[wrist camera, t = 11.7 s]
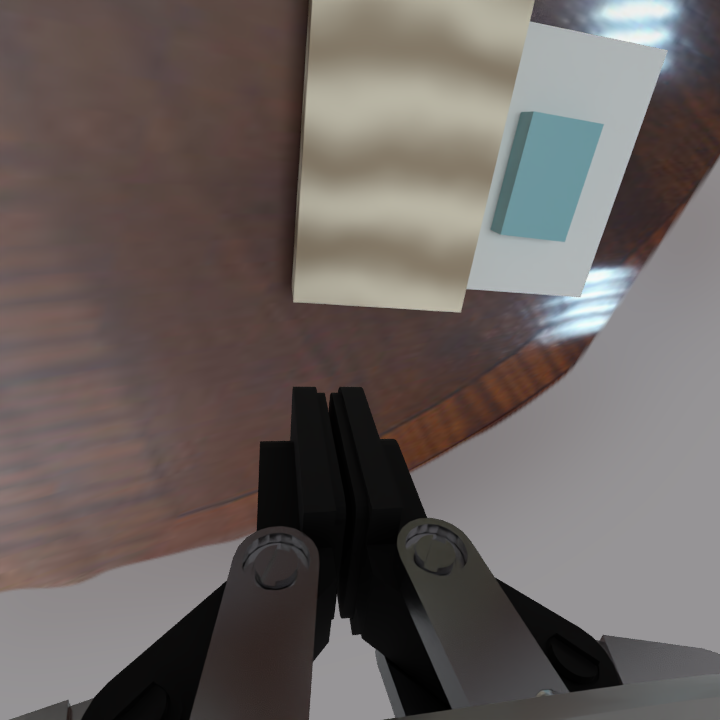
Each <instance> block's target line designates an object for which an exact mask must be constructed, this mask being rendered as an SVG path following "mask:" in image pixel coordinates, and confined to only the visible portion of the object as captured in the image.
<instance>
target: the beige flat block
mask: <svg viewBox="0 0 720 720" xmlns="http://www.w3.org/2000/svg"><path fill="white" fill-rule="evenodd" d="M534 1H535V0H309V8H308V24H307V41H306V57H305V74H304V91H303V107H302V124H301V140H300V157H299V173H298V190H297V206H296V223H295V240H294V256H293V273H292V294H293V302H302V303H318V304H334V305H350V306H366V307H383V308H399V309H415V310H431V311H447V312H461V309H462V305H463V301H464V296H465V292H466V288H467V284H468V279H469V275H470V271H471V267H472V263H473V258H474V254H475V250H476V246H477V242H478V237H479V233H480V229H481V225H482V220H483V216H484V212H485V208H486V204H487V199H488V195H489V191H490V187H491V183H492V178H493V174H494V170H495V166H496V161H497V157H498V153H499V149H500V145H501V140H502V136H503V132H504V128H505V123H506V119H507V115H508V111H509V107H510V102H511V98H512V94H513V90H514V86H515V81H516V77H517V73H518V69H519V64H520V60H521V56H522V52H523V48H524V43H525V39H526V35H527V31H528V27H529V22H530V18H531V14H532V10H533V5H534Z"/></svg>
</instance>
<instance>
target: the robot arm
mask: <svg viewBox="0 0 720 720" xmlns="http://www.w3.org/2000/svg"><path fill="white" fill-rule="evenodd" d="M336 597H338V604H339V611H340V616H341V618H350V624H351V630H352V635H358V634H361V636H362V639H363V640H365V641H366V642H367V643H369V644H370V645H371V646H372V647H374V648H375V649H376V651H375V654H376V659H377V665H378V668H379V671H380V673H381V676H382V679H383V682H384V685H385V688H386V691H387V694H388V697H389V700H390V703H391V706H392V709H393V712H394V715H395V718H392V719H385V720H720V654H718V653H715V652H712V651H709V650H705V649H702V648H695V647H688V646H680V645H673V644H666V643H658V642H651V641H644V640H635V639H629V638H622V637H614V636H607V635H603V636H602V638H601V639H600V641H597V640H595V639H594V638H593V637H592V636H590V635H589V634H587V633H586V632H585V631H584V630H582V629H581V628H579V627H578V626H576V625H574V624H573V623H571V622H569V621H567V620H566V619H564V618H562V617H561V616H559V615H557V614H556V613H554V612H552V611H551V610H549V609H547V608H546V607H544V606H542V605H541V604H539V603H537V602H536V601H534V600H532V599H530V598H529V597H527V596H525V595H524V594H522V593H520V592H519V591H517V590H515V589H514V588H512V587H510V586H509V585H507V584H505V583H503V582H502V581H500V580H498V579H497V578H495V577H494V576H493V574H492V573H491V571H490V570H489V568H488V567H487V565H486V564H485V562H484V561H483V559H482V558H481V556H480V554H479V553H478V551H477V550H476V548H475V547H474V545H473V544H472V542H471V541H470V540H469V538H468V537H467V536H466V535H465V534H464V533H463V532H462V531H461V530H460V529H458V528H457V527H455V526H454V525H452V524H450V523H448V522H445V521H443V520H439V519H433V518H427V516H426V514H425V512H424V509H423V506H422V504H421V501H420V499H419V496H418V493H417V491H416V488H415V486H414V483H413V481H412V478H411V475H410V473H409V470H408V468H407V465H406V463H405V460H404V457H403V455H402V452H401V450H400V447H399V445H398V443H397V441H396V440H395V439H380V438H379V435H378V432H377V429H376V426H375V423H374V420H373V417H372V414H371V411H370V408H369V405H368V402H367V399H366V396H365V394H364V391H363V388H362V387H339V390H338V393H331V394H330V402H329V413H328V407H327V402H326V397H325V393H317V390H316V387H293V392H292V414H291V437H290V441H263V442H260V460H259V487H258V514H257V531H256V532H255V533H253V534H252V535H250V536H248V537H247V538H246V539H245V540H244V541H243V542H242V543H241V545H239V547H238V549H237V551H236V553H235V555H234V557H233V560H232V564H231V568H230V572H229V575H228V579H227V581H226V582H225V583H223V584H222V585H221V586H220V587H219V588H218V589H217V590H215V591H214V592H213V593H212V594H211V595H210V596H208V597H207V598H206V599H205V600H204V601H203V602H201V603H200V604H199V605H198V606H197V607H196V608H194V609H193V610H192V611H191V612H190V613H189V614H187V615H186V616H185V617H184V618H183V619H182V620H180V621H179V622H178V623H177V624H176V625H175V626H174V627H172V628H171V629H170V630H169V631H168V632H167V633H165V634H164V635H163V636H162V637H161V638H160V639H158V640H157V641H156V642H155V643H154V644H153V645H151V646H150V647H149V648H148V649H147V650H146V651H144V652H143V653H142V654H141V655H140V656H139V657H138V658H136V659H135V660H134V661H133V662H132V663H130V664H129V665H128V666H127V667H126V668H125V669H123V670H122V671H121V672H120V673H119V674H118V675H116V676H115V677H114V678H113V679H112V680H111V681H110V682H108V683H107V685H106V686H105V687H104V688H103V689H102V690H101V691H100V692H99V693H98V694H97V695H96V696H95V697H94V698H93V699H90V700H87V701H84V702H81V703H79V704H76V705H73V706H70V704H69V700H66V701H63V702H60V703H57V704H54V705H51V706H48V707H46V708H42V709H40V710H37V711H34V712H31V713H28V714H25V715H22V716H19V717H16V718H13V719H10V720H309V709H310V695H311V679H312V664H313V661H314V660H315V659H316V657H317V656H318V655H319V654H320V652H321V651H322V650H323V649H324V647H325V646H326V645H327V644H328V642H329V636H330V627H331V620H332V619H334V613H335V604H336Z"/></svg>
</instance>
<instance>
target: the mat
mask: <svg viewBox="0 0 720 720" xmlns="http://www.w3.org/2000/svg"><path fill="white" fill-rule="evenodd" d="M667 51H668V50H663V49H659V48H654V47H649V46H644V45H640V44H635V43H630V42H625V41H621V40H616V39H611V38H606V37H602V36H597V35H592V34H587V33H582V32H578V31H573V30H568V29H563V28H559V27H554V26H549V25H544V24H540V23H535V22H529V27H528V31H527V35H526V39H525V43H524V48H523V52H522V56H521V60H520V64H519V69H518V73H517V77H516V81H515V86H514V90H513V94H512V98H511V102H510V107H509V111H508V115H507V119H506V123H505V128H504V132H503V136H502V140H501V145H500V149H499V153H498V157H497V161H496V166H495V170H494V174H493V178H492V183H491V187H490V191H489V195H488V199H487V204H486V208H485V212H484V216H483V220H482V225H481V229H480V233H479V237H478V242H477V246H476V250H475V254H474V258H473V263H472V267H471V271H470V275H469V279H468V284H467V288H466V289H475V290H489V291H502V292H516V293H529V294H543V295H556V296H570V297H580V296H581V293H582V290H583V288H584V285H585V282H586V279H587V276H588V274H589V271H590V268H591V265H592V262H593V259H594V257H595V254H596V251H597V248H598V245H599V243H600V240H601V237H602V234H603V231H604V228H605V226H606V223H607V220H608V217H609V214H610V212H611V209H612V206H613V203H614V200H615V198H616V195H617V192H618V189H619V186H620V183H621V181H622V178H623V175H624V172H625V169H626V167H627V164H628V161H629V158H630V155H631V153H632V150H633V147H634V144H635V141H636V138H637V136H638V133H639V130H640V127H641V124H642V122H643V119H644V116H645V113H646V110H647V108H648V105H649V102H650V99H651V96H652V93H653V91H654V88H655V85H656V82H657V79H658V77H659V74H660V71H661V68H662V65H663V63H664V60H665V57H666V54H667ZM531 111H535V112H540V113H546V114H551V115H557V116H562V117H568V118H573V119H579V120H584V121H590V122H595V123H601V124H604V126H603V129H602V132H601V135H600V138H599V141H598V144H597V147H596V150H595V153H594V156H593V159H592V162H591V165H590V168H589V171H588V174H587V177H586V180H585V183H584V186H583V189H582V192H581V195H580V198H579V201H578V204H577V207H576V210H575V213H574V216H573V219H572V222H571V225H570V228H569V231H568V234H567V237H566V240H565V242H560V241H551V240H543V239H534V238H525V237H517V236H508V235H500V234H498V233H496V232H494V231H492V230H491V226H492V222H493V218H494V214H495V210H496V206H497V202H498V199H499V195H500V191H501V187H502V183H503V179H504V175H505V172H506V168H507V164H508V160H509V156H510V152H511V148H512V144H513V141H514V137H515V133H516V129H517V125H518V121H519V117H520V114H521V112H531Z"/></svg>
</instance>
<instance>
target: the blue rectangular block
mask: <svg viewBox="0 0 720 720" xmlns="http://www.w3.org/2000/svg"><path fill="white" fill-rule="evenodd" d="M603 126H604V124H601V123H595V122H590V121H584V120H579V119H573V118H568V117H562V116H557V115H551V114H546V113H540V112H535V111H531V112H521V114H520V117H519V121H518V125H517V129H516V133H515V137H514V141H513V144H512V148H511V152H510V156H509V160H508V164H507V168H506V172H505V175H504V179H503V183H502V187H501V191H500V195H499V199H498V202H497V206H496V210H495V214H494V218H493V222H492V226H491V230H492V231H494V232H496V233H498V234H500V235H508V236H517V237H525V238H534V239H543V240H551V241H560V242H565V240H566V237H567V234H568V231H569V228H570V225H571V222H572V219H573V216H574V213H575V210H576V207H577V204H578V201H579V198H580V195H581V192H582V189H583V186H584V183H585V180H586V177H587V174H588V171H589V168H590V165H591V162H592V159H593V156H594V153H595V150H596V147H597V144H598V141H599V138H600V135H601V132H602V129H603Z"/></svg>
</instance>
